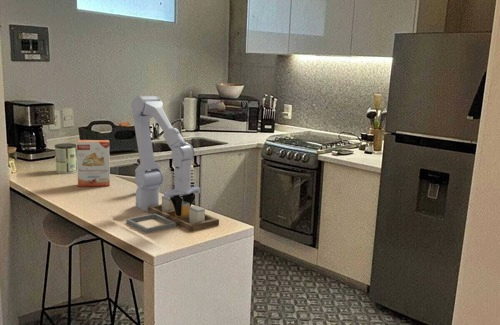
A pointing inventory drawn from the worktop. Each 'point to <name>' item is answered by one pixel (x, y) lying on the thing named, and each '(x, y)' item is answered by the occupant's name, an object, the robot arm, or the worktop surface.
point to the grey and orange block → (184, 209)
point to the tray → (148, 230)
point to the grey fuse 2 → (196, 214)
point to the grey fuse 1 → (167, 204)
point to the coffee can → (66, 158)
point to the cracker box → (93, 163)
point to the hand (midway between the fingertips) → (182, 214)
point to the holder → (184, 219)
